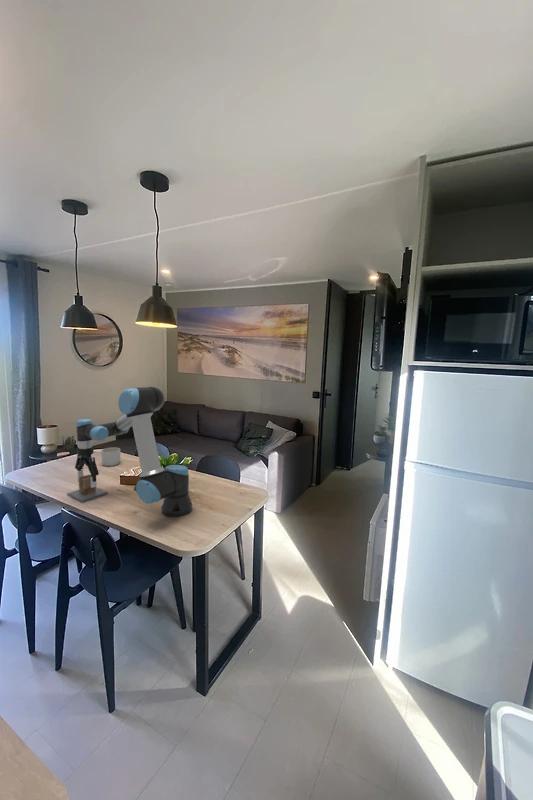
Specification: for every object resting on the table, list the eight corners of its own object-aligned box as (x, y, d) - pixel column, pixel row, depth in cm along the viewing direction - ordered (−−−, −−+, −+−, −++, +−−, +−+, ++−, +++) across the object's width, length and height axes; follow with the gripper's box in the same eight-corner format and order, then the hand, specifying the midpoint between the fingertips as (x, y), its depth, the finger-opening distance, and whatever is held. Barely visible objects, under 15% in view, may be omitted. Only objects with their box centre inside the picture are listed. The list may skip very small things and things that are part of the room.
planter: (97, 466, 226) (97, 451, 225) (109, 461, 238) (108, 446, 237) (113, 467, 224) (113, 452, 223) (124, 462, 236) (123, 448, 235)
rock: (136, 489, 184) (153, 482, 190) (131, 475, 186) (147, 469, 193) (132, 494, 191) (148, 488, 198) (126, 482, 193) (142, 475, 200)
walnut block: (95, 492, 180) (95, 476, 179) (85, 495, 175) (84, 480, 174) (90, 489, 184) (89, 474, 183) (79, 493, 179) (78, 477, 178)
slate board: (107, 494, 181) (107, 491, 181) (82, 503, 170) (82, 500, 169) (92, 487, 190) (92, 485, 190) (67, 495, 178) (67, 493, 178)
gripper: (104, 449, 173) (106, 487, 175) (80, 442, 186) (82, 477, 189) (90, 452, 166) (92, 491, 169) (66, 444, 180) (68, 481, 183)
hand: (87, 484), depth 179 cm, fingers open, 13 cm apart
